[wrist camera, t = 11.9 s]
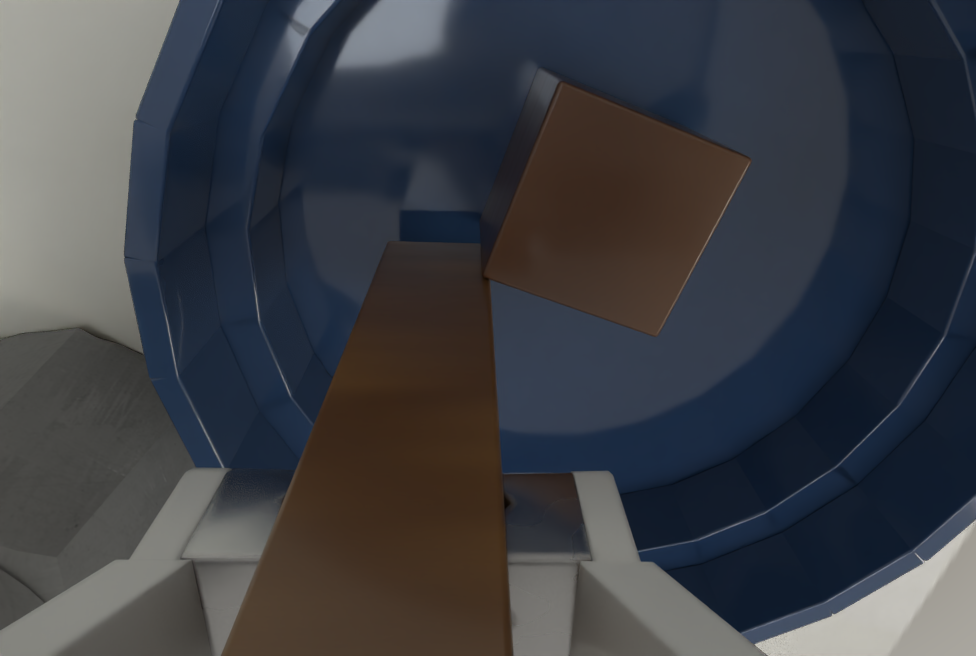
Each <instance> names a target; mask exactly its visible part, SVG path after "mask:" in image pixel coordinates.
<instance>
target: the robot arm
mask: <svg viewBox="0 0 976 656" xmlns="http://www.w3.org/2000/svg"><path fill="white" fill-rule="evenodd" d="M295 471H296V470H284V469H251V468H233V469H230V468H192V469H190V470H188V471H187V472H185V473H184V474H183V476H182V477H181V479H180V481H179V482H178V484H177V485H176V487H175V488H174V490H173V491H172V493H171V495H170V496H169V498H168V499H167V501H166V502H165V504H164V505H163V507H162V509H161V510H160V512H159V513H158V515H157V516H156V518H155V520H154V521H153V523H152V524H151V526H150V527H149V529H148V530H147V532H146V534H145V535H144V537H143V538H142V540H141V541H140V543H139V544H138V546H137V548H136V549H135V551H134V552H133V554H132V555H131V557H130V558H129V560H114V561H113V562H111V563H110V564H108V565H106V566H105V567H103V568H101V569H100V570H98V571H97V572H95V573H93V574H92V575H90V576H88V577H87V578H85V579H84V580H82V581H80V582H79V583H77V584H75V585H74V586H72V587H70V588H69V589H67V590H66V591H64V592H62V593H61V594H59V595H57V596H56V597H54V598H53V599H51V600H49V601H48V602H46V603H44V604H43V605H41V606H40V607H38V608H36V609H35V610H33V611H31V612H30V613H28V614H26V615H25V616H23V617H22V618H20V619H18V620H17V621H15V622H13V623H12V624H10V625H9V626H7V627H5V628H4V629H2V630H0V656H221V654H222V651H223V649H224V647H225V644H226V642H227V639H228V637H229V634H230V632H231V629H232V627H233V624H234V622H235V619H236V617H237V614H238V612H239V609H240V607H241V604H242V602H243V599H244V597H245V594H246V592H247V590H248V587H249V585H250V582H251V580H252V577H253V575H254V572H255V570H256V567H257V565H258V562H259V560H260V557H261V555H262V552H263V550H264V547H265V545H266V542H267V540H268V537H269V535H270V532H271V530H272V528H273V525H274V523H275V520H276V518H277V515H278V513H279V510H280V508H281V505H282V503H283V500H284V498H285V495H286V493H287V490H288V488H289V485H290V483H291V480H292V478H293V475H294V473H295ZM502 476H503V492H504V508H505V524H506V540H507V556H508V572H509V588H510V604H511V620H512V636H513V652H514V656H767V655H766V654H765V653H764V652H762V651H761V650H760V649H759V648H757V647H756V646H755V645H754V644H753V643H751V642H750V641H749V640H748V639H746V638H745V637H744V636H743V635H742V634H740V633H739V632H738V631H737V630H735V629H734V628H733V627H732V626H731V625H729V624H728V623H727V622H726V621H724V620H723V619H722V618H721V617H720V616H718V615H717V614H716V613H715V612H713V611H712V610H711V609H710V608H709V607H707V606H706V605H705V604H704V603H703V602H701V601H700V600H699V599H698V598H696V597H695V596H694V595H693V594H692V593H690V592H689V591H688V590H687V589H685V588H684V587H683V586H682V585H681V584H679V583H678V582H677V581H676V580H674V579H673V578H672V577H671V576H670V575H668V574H667V573H666V572H665V571H663V570H662V569H661V568H660V567H659V566H657V565H656V564H655V563H654V562H641V560H640V557H639V554H638V551H637V548H636V545H635V542H634V539H633V536H632V532H631V529H630V526H629V523H628V520H627V517H626V514H625V511H624V508H623V505H622V501H621V498H620V495H619V492H618V489H617V486H616V483H615V480H614V477H613V475H612V474H611V473H610V472H609V471H571V473H502Z"/></svg>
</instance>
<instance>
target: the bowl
mask: <svg viewBox="0 0 976 656" xmlns="http://www.w3.org/2000/svg"><path fill="white" fill-rule="evenodd" d="M542 67H543V68H545V69H547V70H550V71H552V72H555V73H557V74H559V75H562V76H564V77H567V78H569V79H572V80H574V81H576V82H579V83H581V84H584V85H586V86H588V87H591V88H593V89H596V90H598V91H601V92H603V93H605V94H608V95H610V96H613V97H615V98H617V99H620V100H622V101H625V102H627V103H630V104H632V105H634V106H637V107H639V108H642V109H644V110H646V111H649V112H651V113H654V114H656V115H659V116H661V117H663V118H666V119H668V120H671V121H673V122H675V123H678V124H680V125H683V126H685V127H688V128H690V129H692V130H694V131H696V132H698V133H700V134H702V135H704V136H706V137H709V138H711V139H713V140H715V141H717V142H719V143H721V144H723V145H725V146H727V147H729V148H732V149H734V150H736V151H738V152H740V153H742V154H744V155H746V156H748V157H750V158H751V160H752V161H751V164H750V166H749V168H748V170H747V172H746V174H745V175H744V177H743V179H742V181H741V183H740V185H739V187H738V188H737V190H736V192H735V194H734V196H733V198H732V200H731V201H730V203H729V205H728V207H727V209H726V211H725V213H724V214H723V216H722V218H721V220H720V222H719V224H718V226H717V227H716V229H715V231H714V233H713V235H712V237H711V239H710V240H709V242H708V244H707V246H706V248H705V250H704V252H703V253H702V255H701V257H700V259H699V261H698V263H697V265H696V266H695V268H694V270H693V272H692V274H691V276H690V278H689V279H688V281H687V283H686V285H685V287H684V289H683V291H682V292H681V294H680V296H679V298H678V300H677V302H676V304H675V305H674V307H673V309H672V311H671V313H670V315H669V317H668V318H667V320H666V322H665V324H664V326H663V328H662V330H661V331H660V333H659V335H658V336H657V337H653V336H650V335H648V334H645V333H642V332H639V331H636V330H633V329H630V328H627V327H625V326H622V325H619V324H616V323H613V322H610V321H607V320H604V319H602V318H599V317H596V316H593V315H590V314H587V313H584V312H581V311H579V310H576V309H573V308H570V307H567V306H564V305H561V304H558V303H556V302H553V301H550V300H547V299H544V298H541V297H538V296H535V295H533V294H530V293H527V292H524V291H521V290H518V289H515V288H512V287H510V286H507V285H504V284H501V283H498V282H495V281H492V280H490V285H491V301H492V317H493V333H494V349H495V365H496V380H497V396H498V412H499V428H500V444H501V460H502V473H571V471H609V472H610V473H611V474H612V475H613V477H614V480H615V483H616V486H617V489H618V492H619V495H620V498H621V501H622V505H623V508H624V511H625V514H626V517H627V520H628V523H629V526H630V529H631V532H632V536H633V539H634V542H635V545H636V548H637V551H638V554H639V557H640V560H641V562H654V563H655V564H656V565H657V566H659V567H660V568H661V569H662V570H663V571H665V572H666V573H667V574H668V575H670V576H671V577H672V578H673V579H674V580H676V581H677V582H678V583H679V584H681V585H682V586H683V587H684V588H685V589H687V590H688V591H689V592H690V593H692V594H693V595H694V596H695V597H696V598H698V599H699V600H700V601H701V602H703V603H704V604H705V605H706V606H707V607H709V608H710V609H711V610H712V611H713V612H715V613H716V614H717V615H718V616H720V617H721V618H722V619H723V620H724V621H726V622H727V623H728V624H729V625H731V626H732V627H733V628H734V629H735V630H737V631H738V632H739V633H740V634H742V635H743V636H744V637H745V638H746V639H748V640H749V641H750V642H751V643H753V644H756V643H759V642H762V641H765V640H767V639H770V638H773V637H776V636H778V635H781V634H784V633H787V632H789V631H792V630H795V629H798V628H800V627H803V626H806V625H809V624H811V623H814V622H817V621H820V620H822V619H825V618H828V617H831V616H832V614H836V613H838V612H840V611H841V610H843V609H845V608H847V607H848V606H850V605H852V604H854V603H855V602H857V601H859V600H861V599H862V598H864V597H866V596H867V595H869V594H871V593H873V592H874V591H876V590H878V589H880V588H881V587H883V586H885V585H887V584H888V583H890V582H892V581H893V580H895V579H897V578H899V577H900V576H902V575H904V574H906V573H907V572H909V571H911V570H912V569H914V568H916V567H918V566H919V565H921V564H923V563H924V562H925V561H927V560H929V559H930V558H931V557H933V556H934V555H935V554H936V553H937V552H938V551H940V550H941V549H942V548H943V547H944V546H945V545H947V544H948V543H949V542H950V541H951V540H952V539H954V538H955V537H956V536H957V535H958V534H960V533H961V532H962V531H963V530H964V529H965V528H967V527H968V526H969V525H970V524H971V523H972V522H974V521H975V520H976V0H180V1H179V3H178V6H177V8H176V11H175V14H174V16H173V19H172V22H171V24H170V27H169V29H168V32H167V35H166V37H165V40H164V42H163V45H162V48H161V50H160V53H159V55H158V58H157V61H156V63H155V66H154V69H153V71H152V74H151V76H150V79H149V82H148V84H147V87H146V89H145V92H144V95H143V97H142V100H141V102H140V105H139V108H138V110H137V113H136V120H135V121H134V125H133V138H132V152H131V165H130V179H129V192H128V206H127V219H126V233H125V246H124V257H125V258H124V263H125V267H126V272H127V277H128V281H129V286H130V291H131V295H132V300H133V305H134V310H135V314H136V319H137V324H138V328H139V333H140V338H141V342H142V347H143V352H144V356H145V361H146V366H147V370H148V375H149V378H151V383H152V384H153V386H154V388H155V390H156V392H157V394H158V396H159V398H160V400H161V402H162V404H163V406H164V407H165V409H166V411H167V413H168V415H169V417H170V419H171V421H172V423H173V425H174V427H175V428H176V430H177V432H178V434H179V436H180V438H181V440H182V442H183V444H184V446H185V448H186V450H187V451H188V453H189V455H190V457H191V459H192V461H193V463H194V465H195V467H196V468H230V469H233V468H251V469H284V470H296V468H297V466H298V463H299V461H300V458H301V456H302V453H303V451H304V448H305V446H306V443H307V441H308V438H309V436H310V433H311V431H312V428H313V426H314V423H315V421H316V418H317V416H318V414H319V411H320V409H321V406H322V404H323V401H324V399H325V396H326V394H327V391H328V389H329V386H330V384H331V381H332V379H333V376H334V374H335V371H336V369H337V366H338V364H339V361H340V359H341V356H342V354H343V352H344V349H345V347H346V344H347V342H348V339H349V337H350V334H351V332H352V329H353V327H354V324H355V322H356V319H357V317H358V314H359V312H360V309H361V307H362V304H363V302H364V299H365V297H366V295H367V292H368V290H369V287H370V285H371V282H372V280H373V277H374V275H375V272H376V270H377V267H378V265H379V262H380V260H381V257H382V255H383V252H384V250H385V247H386V245H387V242H389V241H405V242H442V243H479V244H481V239H480V218H481V216H482V213H483V211H484V208H485V205H486V203H487V200H488V197H489V195H490V192H491V190H492V187H493V184H494V182H495V179H496V177H497V174H498V171H499V169H500V166H501V164H502V161H503V158H504V156H505V153H506V151H507V148H508V145H509V143H510V140H511V137H512V135H513V132H514V130H515V127H516V124H517V122H518V119H519V117H520V114H521V111H522V109H523V106H524V104H525V101H526V98H527V96H528V93H529V91H530V88H531V85H532V83H533V80H534V77H535V75H536V72H537V70H538V69H539V68H542ZM924 560H925V561H924Z"/></svg>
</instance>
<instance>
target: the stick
mask: <svg viewBox="0 0 976 656" xmlns="http://www.w3.org/2000/svg"><path fill="white" fill-rule="evenodd" d="M221 656H514V652H513V636H512V620H511V604H510V588H509V572H508V556H507V540H506V524H505V508H504V492H503V476H502V460H501V444H500V428H499V412H498V396H497V380H496V365H495V349H494V333H493V317H492V301H491V285H490V280H489V279H487V278H484V277H483V276H482V259H481V244H479V243H442V242H405V241H389V242H387V245H386V247H385V250H384V252H383V255H382V257H381V260H380V262H379V265H378V267H377V270H376V272H375V275H374V277H373V280H372V282H371V285H370V287H369V290H368V292H367V295H366V297H365V299H364V302H363V304H362V307H361V309H360V312H359V314H358V317H357V319H356V322H355V324H354V327H353V329H352V332H351V334H350V337H349V339H348V342H347V344H346V347H345V349H344V352H343V354H342V356H341V359H340V361H339V364H338V366H337V369H336V371H335V374H334V376H333V379H332V381H331V384H330V386H329V389H328V391H327V394H326V396H325V399H324V401H323V404H322V406H321V409H320V411H319V414H318V416H317V418H316V421H315V423H314V426H313V428H312V431H311V433H310V436H309V438H308V441H307V443H306V446H305V448H304V451H303V453H302V456H301V458H300V461H299V463H298V466H297V468H296V471H295V473H294V475H293V478H292V480H291V483H290V485H289V488H288V490H287V493H286V495H285V498H284V500H283V503H282V505H281V508H280V510H279V513H278V515H277V518H276V520H275V523H274V525H273V528H272V530H271V532H270V535H269V537H268V540H267V542H266V545H265V547H264V550H263V552H262V555H261V557H260V560H259V562H258V565H257V567H256V570H255V572H254V575H253V577H252V580H251V582H250V585H249V587H248V590H247V592H246V594H245V597H244V599H243V602H242V604H241V607H240V609H239V612H238V614H237V617H236V619H235V622H234V624H233V627H232V629H231V632H230V634H229V637H228V639H227V642H226V644H225V647H224V649H223V651H222V654H221Z"/></svg>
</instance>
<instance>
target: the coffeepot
mask: <svg viewBox="0 0 976 656" xmlns="http://www.w3.org/2000/svg"><path fill="white" fill-rule="evenodd" d="M192 468H196V467H195V465H194V463H193V461H192V459H191V457H190V455H189V453H188V451H187V450H186V448H185V446H184V444H183V442H182V440H181V438H180V436H179V434H178V432H177V430H176V428H175V427H174V425H173V423H172V421H171V419H170V417H169V415H168V413H167V411H166V409H165V407H164V406H163V404H162V402H161V400H160V398H159V396H158V394H157V392H156V390H155V388H154V386H153V384H152V383H151V378H149V375H148V370H147V366H146V361H145V356H144V355H142V354H140V353H137V352H135V351H133V350H131V349H128V348H126V347H124V346H122V345H119V344H117V343H114V342H111V341H107V340H103V339H100V338H96V337H95V336H93V335H91V334H89V333H87V332H85V331H83V330H81V329H80V328H74V329H66V330H59V331H49V332H34V333H23V334H19V335H15V336H12V337H8V338H4V339H0V630H2V629H4V628H5V627H7V626H9V625H10V624H12V623H13V622H15V621H17V620H18V619H20V618H22V617H23V616H25V615H26V614H28V613H30V612H31V611H33V610H35V609H36V608H38V607H40V606H41V605H43V604H44V603H46V602H48V601H49V600H51V599H53V598H54V597H56V596H57V595H59V594H61V593H62V592H64V591H66V590H67V589H69V588H70V587H72V586H74V585H75V584H77V583H79V582H80V581H82V580H84V579H85V578H87V577H88V576H90V575H92V574H93V573H95V572H97V571H98V570H100V569H101V568H103V567H105V566H106V565H108V564H110V563H111V562H113V561H114V560H129V558H130V557H131V555H132V554H133V552H134V551H135V549H136V548H137V546H138V544H139V543H140V541H141V540H142V538H143V537H144V535H145V534H146V532H147V530H148V529H149V527H150V526H151V524H152V523H153V521H154V520H155V518H156V516H157V515H158V513H159V512H160V510H161V509H162V507H163V505H164V504H165V502H166V501H167V499H168V498H169V496H170V495H171V493H172V491H173V490H174V488H175V487H176V485H177V484H178V482H179V481H180V479H181V477H182V476H183V474H184V473H185V472H187V471H188V470H190V469H192Z"/></svg>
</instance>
